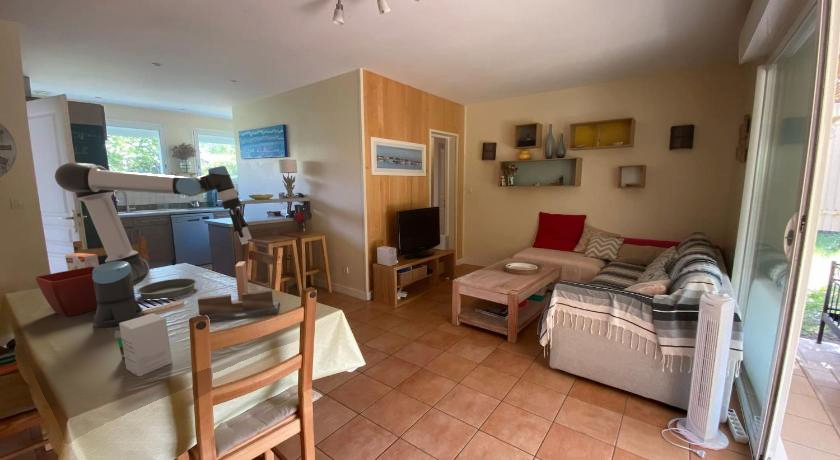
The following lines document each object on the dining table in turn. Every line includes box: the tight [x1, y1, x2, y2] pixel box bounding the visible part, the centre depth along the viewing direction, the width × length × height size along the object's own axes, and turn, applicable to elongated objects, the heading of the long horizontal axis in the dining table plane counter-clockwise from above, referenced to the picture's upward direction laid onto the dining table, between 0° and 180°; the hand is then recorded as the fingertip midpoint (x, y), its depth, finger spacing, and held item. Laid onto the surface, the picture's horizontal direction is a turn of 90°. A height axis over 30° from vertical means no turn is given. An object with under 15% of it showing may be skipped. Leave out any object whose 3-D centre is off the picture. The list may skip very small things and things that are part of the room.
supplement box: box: [118, 312, 173, 377], centre depth 105 cm, size 9×9×15 cm
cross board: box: [193, 289, 280, 323], centre depth 147 cm, size 14×32×8 cm, turn 108°
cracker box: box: [64, 252, 100, 271], centre depth 172 cm, size 14×6×21 cm, turn 73°
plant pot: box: [35, 267, 97, 318], centre depth 152 cm, size 19×19×17 cm
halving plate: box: [234, 260, 249, 301], centre depth 161 cm, size 9×3×18 cm, turn 18°
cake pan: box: [136, 277, 198, 301], centre depth 174 cm, size 25×25×4 cm
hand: (247, 241), depth 165 cm, fingers open, 13 cm apart
